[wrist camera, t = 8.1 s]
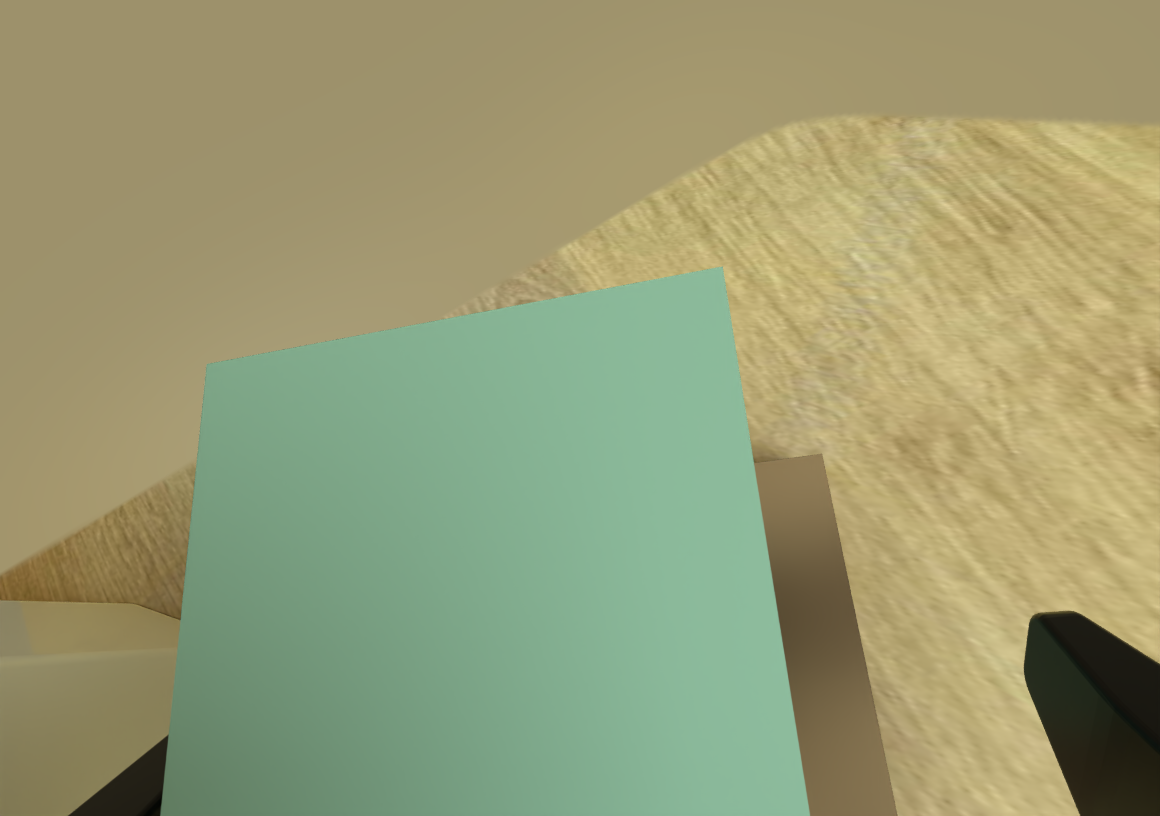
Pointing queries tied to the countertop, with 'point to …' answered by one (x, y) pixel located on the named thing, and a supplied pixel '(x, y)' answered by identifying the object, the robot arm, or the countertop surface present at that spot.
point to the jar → (79, 698)
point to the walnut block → (822, 643)
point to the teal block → (485, 574)
